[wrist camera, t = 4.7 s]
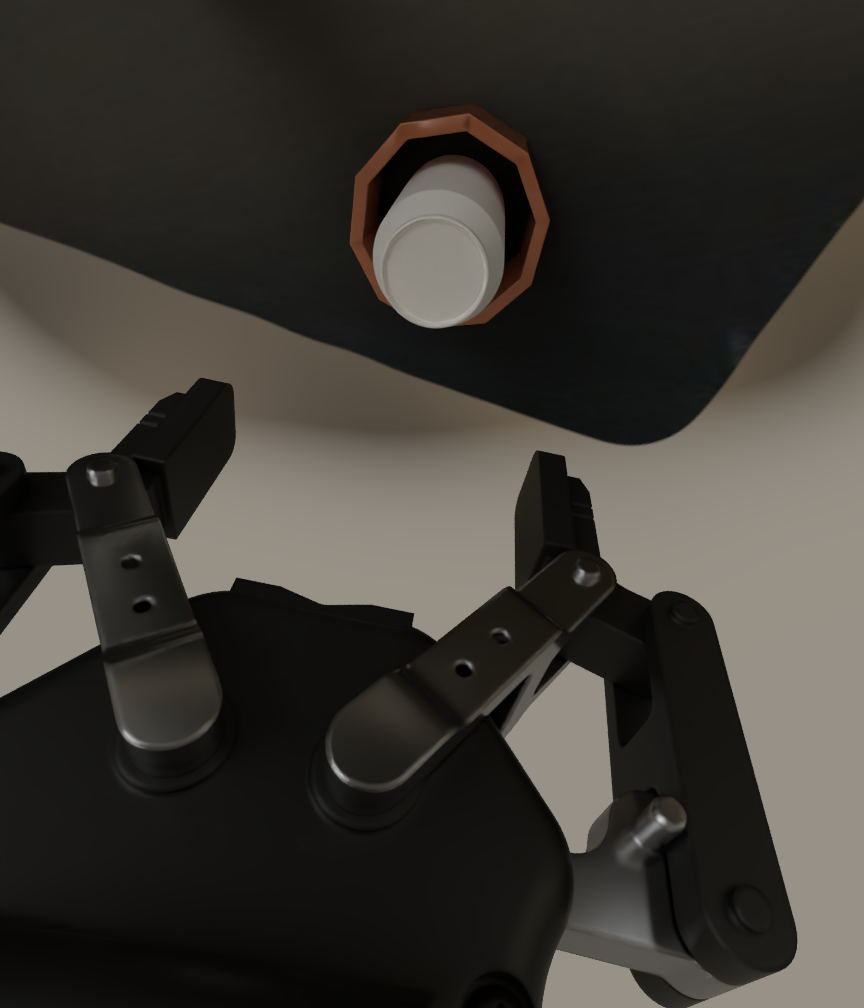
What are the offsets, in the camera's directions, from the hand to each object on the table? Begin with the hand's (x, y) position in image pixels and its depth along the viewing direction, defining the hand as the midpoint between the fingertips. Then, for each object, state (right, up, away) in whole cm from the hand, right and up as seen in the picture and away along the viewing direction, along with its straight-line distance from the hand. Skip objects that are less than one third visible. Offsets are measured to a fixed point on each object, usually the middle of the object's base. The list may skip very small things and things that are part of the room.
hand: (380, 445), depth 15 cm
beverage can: (+3, +16, +20) cm, 26 cm away
